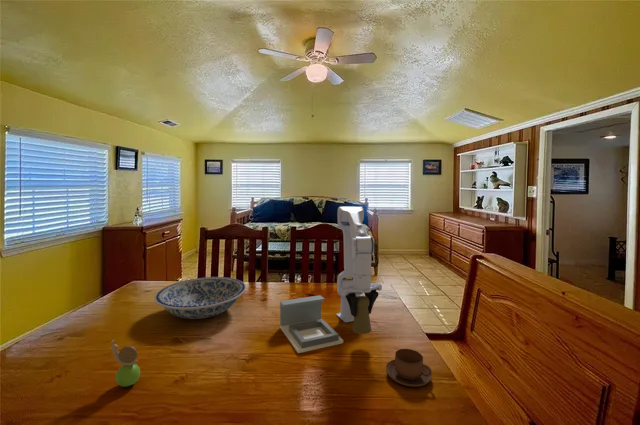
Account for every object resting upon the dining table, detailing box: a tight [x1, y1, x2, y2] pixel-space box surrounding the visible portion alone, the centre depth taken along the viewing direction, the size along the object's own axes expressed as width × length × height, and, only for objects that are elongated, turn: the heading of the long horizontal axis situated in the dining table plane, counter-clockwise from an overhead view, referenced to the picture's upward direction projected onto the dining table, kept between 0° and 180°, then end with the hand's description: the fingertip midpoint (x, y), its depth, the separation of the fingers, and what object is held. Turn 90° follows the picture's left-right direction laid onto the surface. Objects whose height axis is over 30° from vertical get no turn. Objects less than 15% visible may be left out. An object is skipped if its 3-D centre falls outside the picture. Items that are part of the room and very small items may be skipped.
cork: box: [352, 295, 372, 335], centre depth 101 cm, size 6×6×11 cm
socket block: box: [279, 295, 344, 354], centre depth 108 cm, size 16×19×10 cm
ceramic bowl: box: [154, 276, 247, 320], centre depth 126 cm, size 34×34×10 cm
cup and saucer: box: [385, 348, 433, 388], centre depth 85 cm, size 12×12×6 cm
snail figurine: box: [110, 339, 141, 388], centre depth 80 cm, size 5×6×12 cm
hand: (360, 314), depth 101 cm, fingers closed on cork, 5 cm apart
